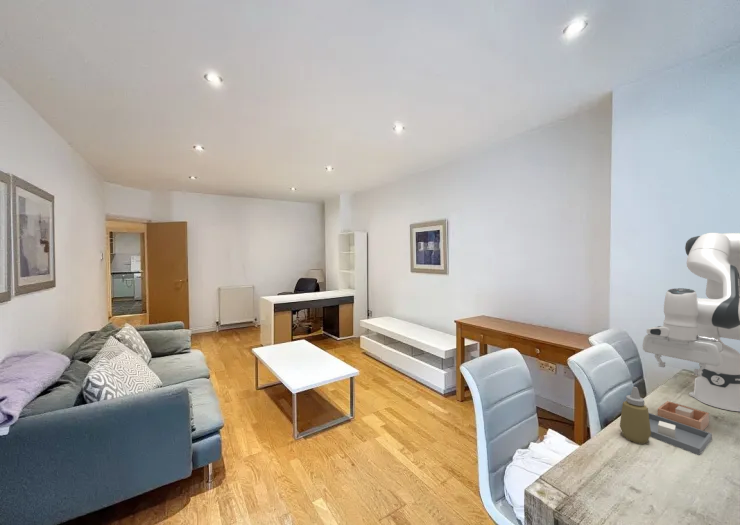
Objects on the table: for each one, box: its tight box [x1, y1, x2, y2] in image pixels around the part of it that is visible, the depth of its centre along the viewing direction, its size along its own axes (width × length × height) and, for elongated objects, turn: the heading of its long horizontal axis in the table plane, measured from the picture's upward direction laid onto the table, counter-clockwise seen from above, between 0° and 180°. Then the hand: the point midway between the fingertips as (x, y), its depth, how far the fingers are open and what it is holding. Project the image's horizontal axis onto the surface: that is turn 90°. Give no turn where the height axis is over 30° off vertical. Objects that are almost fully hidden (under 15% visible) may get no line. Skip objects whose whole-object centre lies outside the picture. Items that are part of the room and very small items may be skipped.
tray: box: [649, 412, 713, 456], centre depth 105 cm, size 15×17×3 cm
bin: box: [657, 400, 710, 431], centre depth 113 cm, size 11×11×5 cm
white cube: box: [675, 406, 694, 419], centre depth 114 cm, size 4×4×4 cm
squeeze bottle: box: [619, 386, 651, 445], centre depth 103 cm, size 8×8×18 cm
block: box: [658, 421, 676, 439], centre depth 103 cm, size 4×4×4 cm
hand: (679, 370), depth 110 cm, fingers open, 8 cm apart
